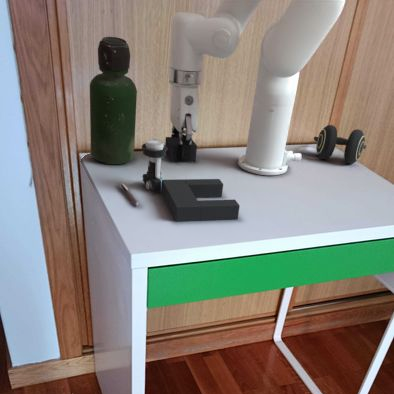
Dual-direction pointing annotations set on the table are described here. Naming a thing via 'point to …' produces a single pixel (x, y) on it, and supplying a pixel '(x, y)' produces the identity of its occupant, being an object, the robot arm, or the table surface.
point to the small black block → (173, 149)
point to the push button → (153, 164)
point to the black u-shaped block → (198, 209)
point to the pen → (129, 194)
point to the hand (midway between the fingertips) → (180, 154)
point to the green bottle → (113, 104)
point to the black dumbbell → (330, 139)
